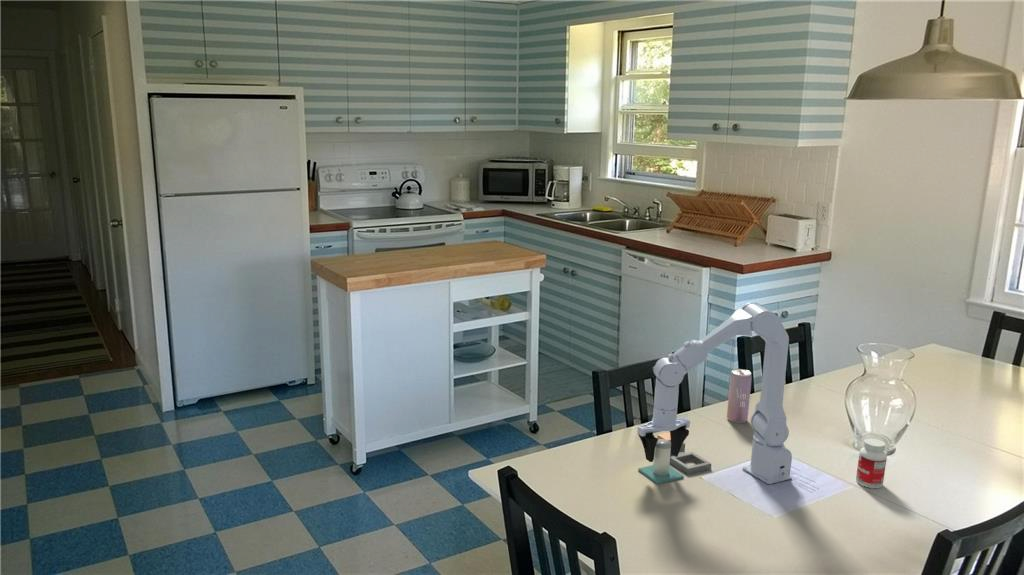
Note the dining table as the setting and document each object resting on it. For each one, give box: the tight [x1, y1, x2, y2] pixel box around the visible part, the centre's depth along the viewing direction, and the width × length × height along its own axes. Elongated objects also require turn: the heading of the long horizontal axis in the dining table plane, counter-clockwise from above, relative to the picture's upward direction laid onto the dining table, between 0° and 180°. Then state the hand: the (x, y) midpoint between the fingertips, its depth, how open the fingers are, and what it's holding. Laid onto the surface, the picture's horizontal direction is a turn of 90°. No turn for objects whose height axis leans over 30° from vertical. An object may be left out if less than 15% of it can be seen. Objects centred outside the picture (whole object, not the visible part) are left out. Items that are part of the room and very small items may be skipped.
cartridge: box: [652, 439, 671, 476], centre depth 193 cm, size 4×4×8 cm
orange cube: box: [656, 431, 671, 442], centre depth 207 cm, size 4×4×4 cm
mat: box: [637, 465, 685, 485], centre depth 194 cm, size 8×8×1 cm
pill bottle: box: [855, 438, 888, 489], centre depth 191 cm, size 6×6×11 cm
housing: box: [654, 436, 712, 475], centre depth 203 cm, size 16×8×3 cm, turn 26°
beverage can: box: [726, 368, 752, 424], centre depth 229 cm, size 6×6×15 cm
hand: (661, 457), depth 193 cm, fingers open, 7 cm apart
